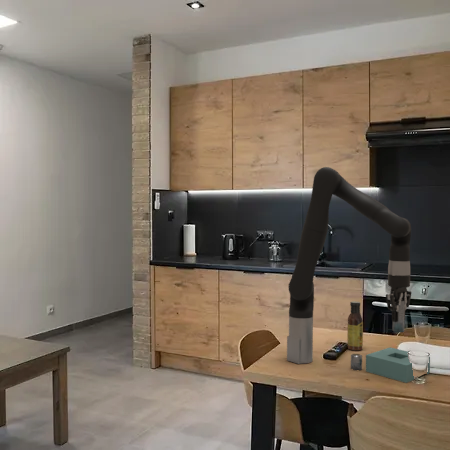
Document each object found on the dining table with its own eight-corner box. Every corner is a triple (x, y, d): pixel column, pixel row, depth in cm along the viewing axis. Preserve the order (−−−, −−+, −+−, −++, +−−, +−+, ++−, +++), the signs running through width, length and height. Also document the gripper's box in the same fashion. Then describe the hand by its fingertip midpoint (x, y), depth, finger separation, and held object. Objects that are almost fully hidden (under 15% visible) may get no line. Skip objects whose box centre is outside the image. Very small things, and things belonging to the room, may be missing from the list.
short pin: (357, 371, 185) (357, 357, 184) (348, 368, 188) (348, 355, 187) (364, 369, 187) (364, 355, 187) (354, 366, 190) (355, 353, 190)
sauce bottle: (363, 351, 210) (363, 303, 209) (347, 350, 211) (348, 303, 211) (362, 347, 216) (362, 301, 216) (347, 346, 218) (347, 300, 217)
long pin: (400, 332, 180) (400, 301, 180) (390, 330, 183) (390, 300, 183) (406, 331, 183) (406, 300, 183) (396, 329, 186) (396, 299, 186)
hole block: (406, 382, 172) (406, 365, 172) (365, 371, 184) (365, 354, 184) (429, 373, 183) (430, 356, 182) (389, 362, 195) (390, 347, 195)
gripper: (400, 270, 190) (399, 316, 190) (378, 273, 181) (378, 321, 181) (419, 272, 184) (418, 319, 185) (398, 275, 175) (397, 325, 175)
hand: (398, 320), depth 183 cm, fingers closed on long pin, 4 cm apart
